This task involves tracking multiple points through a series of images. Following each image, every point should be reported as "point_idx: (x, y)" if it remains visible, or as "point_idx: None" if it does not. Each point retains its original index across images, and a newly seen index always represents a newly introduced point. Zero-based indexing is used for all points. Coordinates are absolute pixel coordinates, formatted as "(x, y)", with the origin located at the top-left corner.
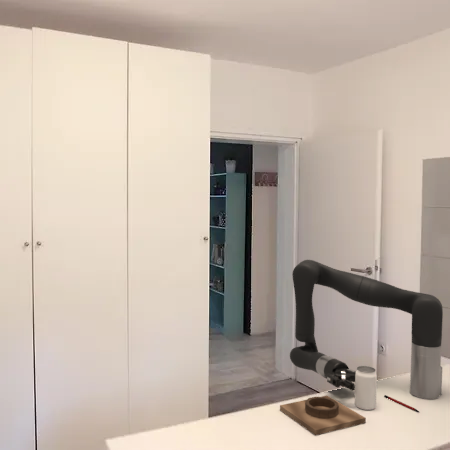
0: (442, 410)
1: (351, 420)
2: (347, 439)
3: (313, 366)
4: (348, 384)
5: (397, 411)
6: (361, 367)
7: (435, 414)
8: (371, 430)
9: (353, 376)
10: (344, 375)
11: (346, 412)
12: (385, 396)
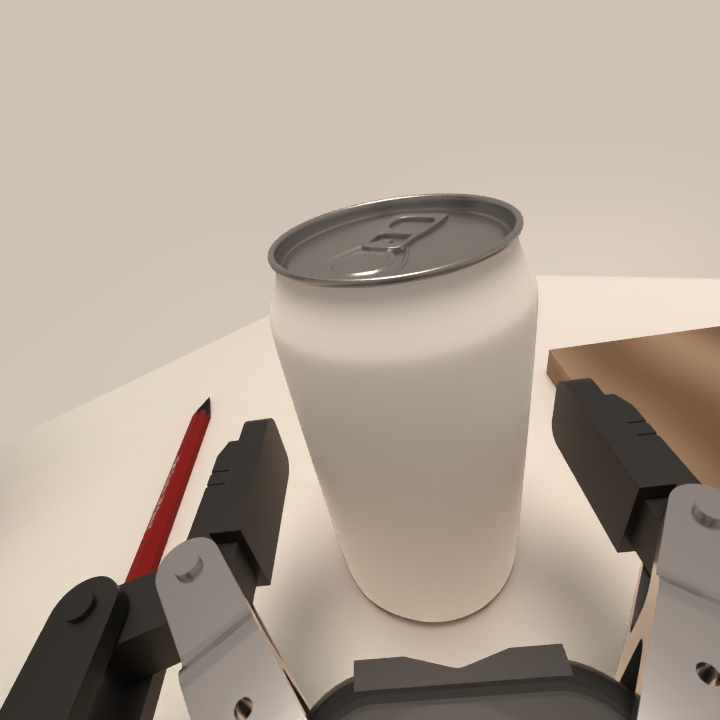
0: (106, 399)
1: (650, 341)
2: (693, 299)
3: None
4: (637, 412)
5: (287, 430)
6: (380, 296)
7: (173, 381)
8: (547, 330)
9: (404, 667)
10: (678, 596)
11: (664, 406)
12: None
